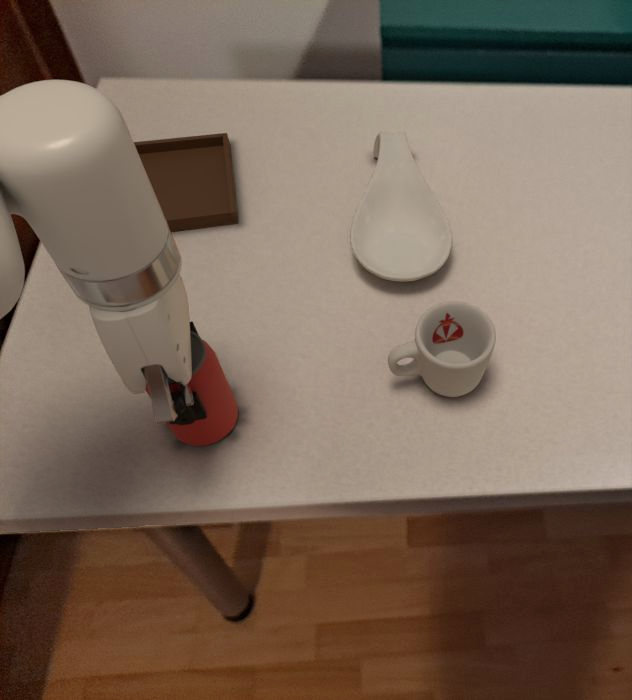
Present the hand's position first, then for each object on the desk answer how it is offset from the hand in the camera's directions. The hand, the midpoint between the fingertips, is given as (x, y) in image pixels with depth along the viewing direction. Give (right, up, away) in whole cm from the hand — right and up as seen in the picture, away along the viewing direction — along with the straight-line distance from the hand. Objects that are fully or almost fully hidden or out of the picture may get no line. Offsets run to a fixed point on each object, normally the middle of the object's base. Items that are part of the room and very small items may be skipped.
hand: (187, 382), depth 63 cm
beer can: (-1, -4, +6) cm, 7 cm away
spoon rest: (+17, +19, +23) cm, 34 cm away
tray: (-10, +23, +23) cm, 34 cm away
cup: (+23, 0, +11) cm, 25 cm away
